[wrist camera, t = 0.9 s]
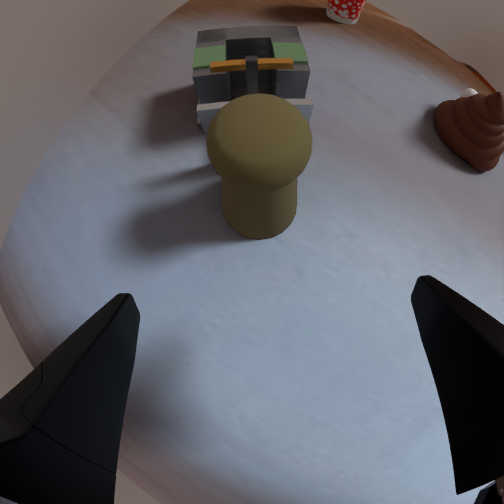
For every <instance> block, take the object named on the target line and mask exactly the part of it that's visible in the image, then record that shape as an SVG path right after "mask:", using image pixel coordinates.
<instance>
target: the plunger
mask: <svg viewBox="0 0 504 504" xmlns="http://www.w3.org/2000/svg"><path fill="white" fill-rule="evenodd" d="M260 69H293V59H292V58H257V56H245V59H239V60H227V61H217V62H210V71H211V73H218V72H228V71H241V70H246V77H247V93H248V95H249V94H257V93H258V70H260ZM285 100H287V101H288V102H290V103H291V104H292V105H294V106H295V107H296V108H297V109H298V110H299V111H300V112H301V113H302V115H303V116H304V117H305V119H306V120H307V121H308V124H309V121H310V117H311V113H312V109H313V106H314V104H313V100H312V99H285ZM229 102H230V101H228V102H217V103H208V104H200V105H197V113H198V116H199V119H200V122H201V125H202V129H203V132H204V135H205V138H207V133H208V129H209V126H210V122H211V121H212V119H213V118H214V117H215V115H216V114H217V112H218V111H219V110H220V109H221V108H222V107H223V106H225V105H226V104H227V103H229Z"/></svg>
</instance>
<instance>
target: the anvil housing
mask: <svg viewBox="0 0 504 504" xmlns="http://www.w3.org/2000/svg"><path fill="white" fill-rule="evenodd" d="M245 56H257V58H292V59H293V69H260V70H258V93H261V94H270V95H274V96H277V97H280V98H283V99H305V94H306V89H307V84H308V80H309V75H310V69H309V65H308V59H307V56H306V52H305V49H304V46H303V43H302V42H301V39H300V36H299V33H298V30H297V27H296V26H248V27H233V28H222V29H213V30H205V31H198V36H197V43H196V49H195V53H194V61H193V76H192V78H193V81H194V85H195V88H196V91H197V95H198V105H200V104H208V103H217V102H228V101H231V100H233V99H236V98H238V97H241V96H244V95H248V93H247V77H246V70H241V71H228V72H218V73H211V71H210V62H217V61H227V60H239V59H245ZM197 125H198V128H199V129H202V125H201V122H200V119H199V116H198V113H197Z"/></svg>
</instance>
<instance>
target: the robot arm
mask: <svg viewBox="0 0 504 504" xmlns="http://www.w3.org/2000/svg"><path fill="white" fill-rule="evenodd" d="M411 303H412V307H413V310H414V314H415V317H416V321H417V325H418V329H419V333H420V336H421V340H422V343H423V346H424V349H425V352H426V355H427V358H428V361H429V365H430V368H431V371H432V374H433V378H434V381H435V384H436V388H437V392H438V395H439V399H440V403H441V407H442V411H443V415H444V419H445V424H446V429H447V433H448V438H449V444H450V450H451V456H452V462H453V470H454V478H455V487H456V494H457V495H458V494H461V493H464V492H467V491H469V490H472V489H475V488H477V487H480V486H482V485H484V484H487V483H489V482H491V481H493V480H495V481H494V482H492V483H491V484H489V485H488V486H486V487H485V488H483V489H482V490H480V492H479V494H478V496H477V498H476V500H475V502H474V504H504V325H503V324H502V323H500V322H499V321H497V320H496V319H495V318H493V317H492V316H490V315H489V314H488V313H486V312H485V311H483V310H482V309H481V308H479V307H478V306H476V305H475V304H473V303H472V302H470V301H469V300H467V299H466V298H464V297H463V296H461V295H460V294H458V293H457V292H455V291H454V290H452V289H451V288H449V287H448V286H446V285H445V284H443V283H442V282H440V281H438V280H437V279H435V278H434V277H432V276H430V275H425V276H420V277H419V278H418V279H417V281H416V284H415V287H414V289H413V292H412V295H411ZM139 323H140V313H139V310H138V308H137V306H136V303H135V301H134V299H133V296H132V295H131V294H129V293H119V294H117V295H116V296H115V297H114V298H112V299H111V300H110V301H109V302H108V303H107V304H105V305H104V306H103V307H102V308H101V309H100V310H98V311H97V312H96V313H95V314H94V315H93V316H92V317H90V318H89V319H88V320H87V321H86V322H85V323H84V324H82V325H81V326H80V327H79V328H78V329H77V330H76V331H75V332H74V333H72V334H71V335H70V336H69V337H68V338H67V339H66V340H65V341H64V342H63V343H61V344H60V345H59V346H58V347H57V348H56V349H55V350H54V351H53V352H52V353H51V354H50V355H49V356H47V357H46V358H45V359H44V361H43V362H41V363H40V364H39V365H38V366H37V367H36V368H35V369H34V370H33V371H32V372H31V373H30V374H28V375H27V376H26V377H25V378H24V379H23V380H22V381H21V382H20V383H19V384H17V385H16V386H15V387H14V388H13V389H12V390H10V391H9V392H8V393H7V394H6V395H4V396H3V397H2V398H1V399H0V504H114V493H115V482H116V470H117V461H118V453H119V445H120V438H121V431H122V425H123V419H124V413H125V407H126V402H127V396H128V391H129V386H130V381H131V376H132V372H133V367H134V362H135V355H136V346H137V338H138V330H139Z"/></svg>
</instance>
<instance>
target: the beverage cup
mask: <svg viewBox="0 0 504 504" xmlns="http://www.w3.org/2000/svg"><path fill="white" fill-rule="evenodd" d="M365 1H366V0H328V2H327V11H326V14H327V16H328V17H329V18H331V19H332V20H334V21H337V22H339V23H344V24H355V23H356V22H357V21H358V18H359V16H360V13H361V11H362V8H363V6H364V3H365Z"/></svg>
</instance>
